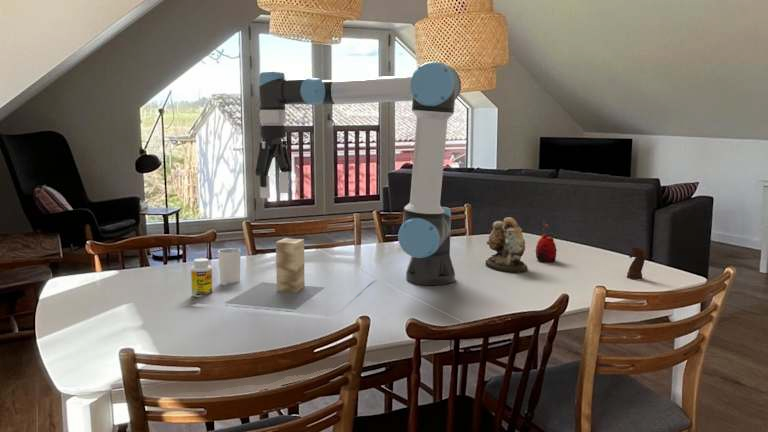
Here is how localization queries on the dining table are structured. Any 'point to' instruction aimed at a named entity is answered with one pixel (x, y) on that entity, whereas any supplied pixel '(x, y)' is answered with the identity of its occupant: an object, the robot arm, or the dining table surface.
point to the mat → (275, 296)
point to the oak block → (290, 264)
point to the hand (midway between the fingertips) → (274, 195)
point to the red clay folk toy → (546, 248)
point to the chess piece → (636, 263)
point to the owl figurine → (506, 247)
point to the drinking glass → (229, 265)
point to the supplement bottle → (201, 277)
